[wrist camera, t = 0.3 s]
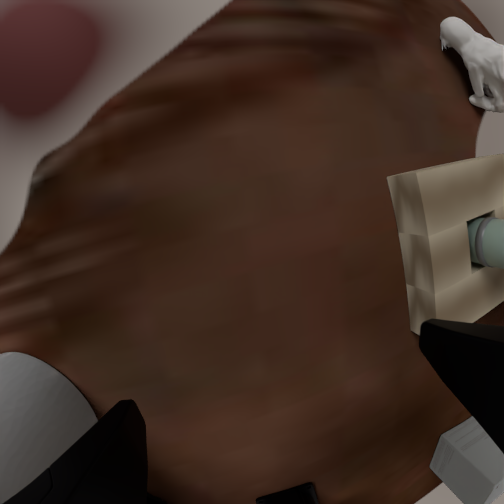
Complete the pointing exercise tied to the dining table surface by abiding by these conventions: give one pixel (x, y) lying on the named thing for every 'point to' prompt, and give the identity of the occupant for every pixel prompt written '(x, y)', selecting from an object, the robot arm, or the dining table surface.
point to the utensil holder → (36, 419)
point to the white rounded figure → (478, 62)
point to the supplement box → (470, 463)
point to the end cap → (154, 500)
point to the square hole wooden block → (447, 238)
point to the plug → (486, 241)
